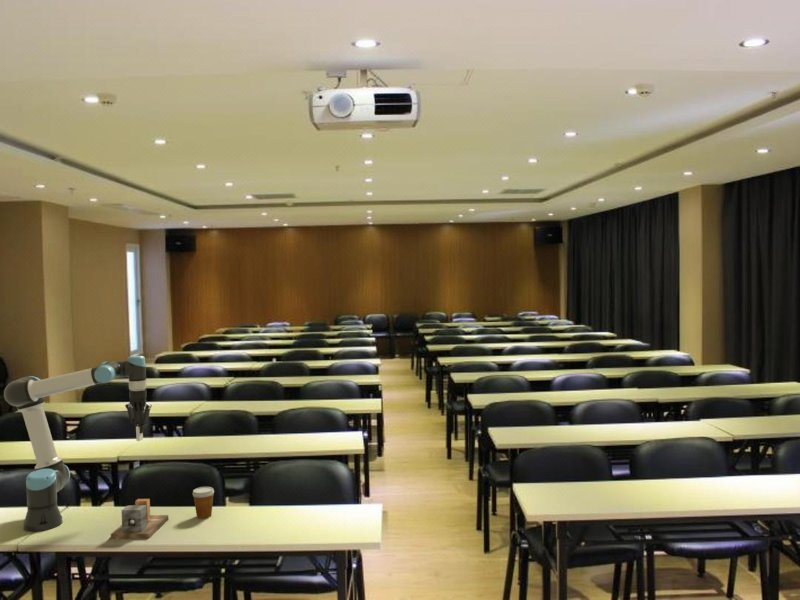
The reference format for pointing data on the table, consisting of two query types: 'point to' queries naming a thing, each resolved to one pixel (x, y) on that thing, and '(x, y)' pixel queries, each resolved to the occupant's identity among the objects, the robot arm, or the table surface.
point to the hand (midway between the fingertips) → (139, 440)
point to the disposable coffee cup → (203, 501)
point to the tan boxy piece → (147, 503)
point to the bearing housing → (138, 523)
